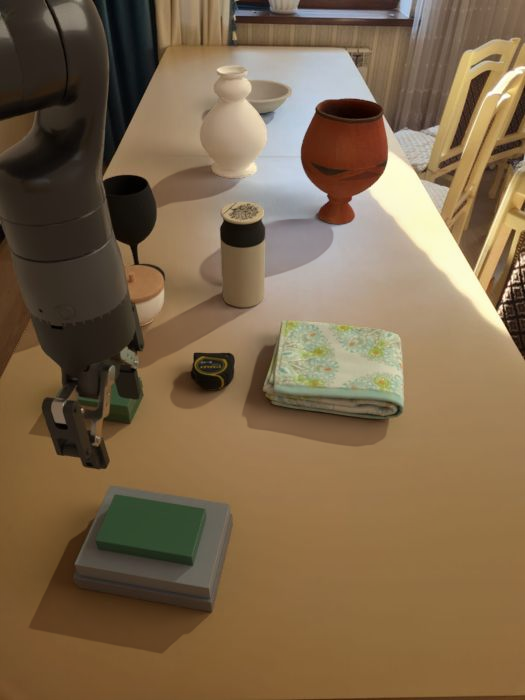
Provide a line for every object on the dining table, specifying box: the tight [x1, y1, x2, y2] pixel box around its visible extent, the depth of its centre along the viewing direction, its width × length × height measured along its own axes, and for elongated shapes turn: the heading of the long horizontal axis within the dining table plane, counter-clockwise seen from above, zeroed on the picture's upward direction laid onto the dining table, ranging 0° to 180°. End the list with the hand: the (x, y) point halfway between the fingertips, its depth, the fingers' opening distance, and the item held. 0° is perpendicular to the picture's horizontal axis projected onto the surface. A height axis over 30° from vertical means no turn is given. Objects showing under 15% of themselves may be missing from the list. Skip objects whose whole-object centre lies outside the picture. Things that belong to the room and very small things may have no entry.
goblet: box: [300, 97, 389, 225], centre depth 121 cm, size 19×19×25 cm
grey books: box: [72, 484, 234, 613], centre depth 64 cm, size 16×11×5 cm
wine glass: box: [103, 174, 166, 281], centre depth 102 cm, size 10×10×20 cm
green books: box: [55, 377, 145, 425], centre depth 82 cm, size 11×6×4 cm, turn 80°
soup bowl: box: [245, 79, 293, 114], centre depth 183 cm, size 24×24×7 cm
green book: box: [95, 494, 206, 566], centre depth 61 cm, size 11×6×2 cm, turn 80°
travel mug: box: [219, 201, 266, 308], centre depth 99 cm, size 8×8×18 cm
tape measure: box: [190, 352, 236, 391], centre depth 86 cm, size 7×7×4 cm
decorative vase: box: [199, 65, 268, 179], centre depth 141 cm, size 18×18×25 cm
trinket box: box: [124, 264, 165, 327], centre depth 97 cm, size 11×11×9 cm
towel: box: [262, 319, 405, 420], centre depth 87 cm, size 18×21×5 cm
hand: (115, 428), depth 52 cm, fingers open, 8 cm apart
